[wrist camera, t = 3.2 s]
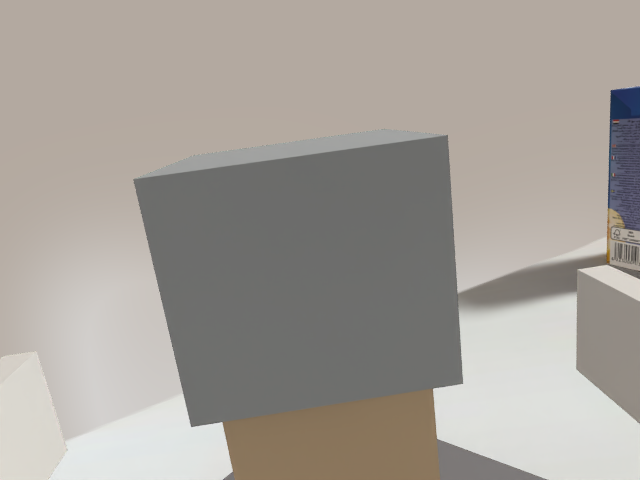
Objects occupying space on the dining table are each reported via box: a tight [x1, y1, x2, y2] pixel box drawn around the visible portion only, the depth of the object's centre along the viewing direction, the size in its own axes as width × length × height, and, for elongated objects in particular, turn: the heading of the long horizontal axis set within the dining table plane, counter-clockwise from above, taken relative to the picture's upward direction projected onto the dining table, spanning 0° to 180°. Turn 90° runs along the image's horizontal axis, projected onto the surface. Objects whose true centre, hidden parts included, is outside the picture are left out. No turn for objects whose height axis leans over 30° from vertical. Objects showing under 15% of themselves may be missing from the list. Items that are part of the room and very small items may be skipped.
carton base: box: [223, 389, 440, 480], centre depth 23 cm, size 8×8×18 cm
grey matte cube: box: [134, 129, 463, 427], centre depth 21 cm, size 10×10×9 cm
